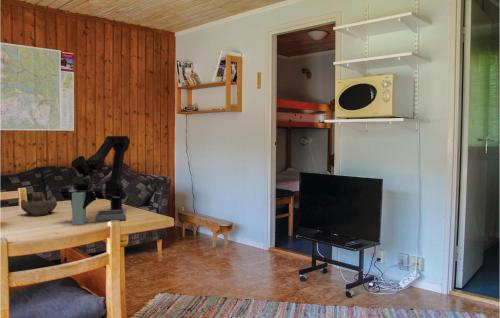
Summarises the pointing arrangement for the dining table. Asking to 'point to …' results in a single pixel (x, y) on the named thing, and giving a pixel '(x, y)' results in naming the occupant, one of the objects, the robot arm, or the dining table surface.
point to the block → (78, 208)
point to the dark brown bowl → (39, 204)
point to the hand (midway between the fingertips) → (77, 208)
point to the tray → (109, 215)
